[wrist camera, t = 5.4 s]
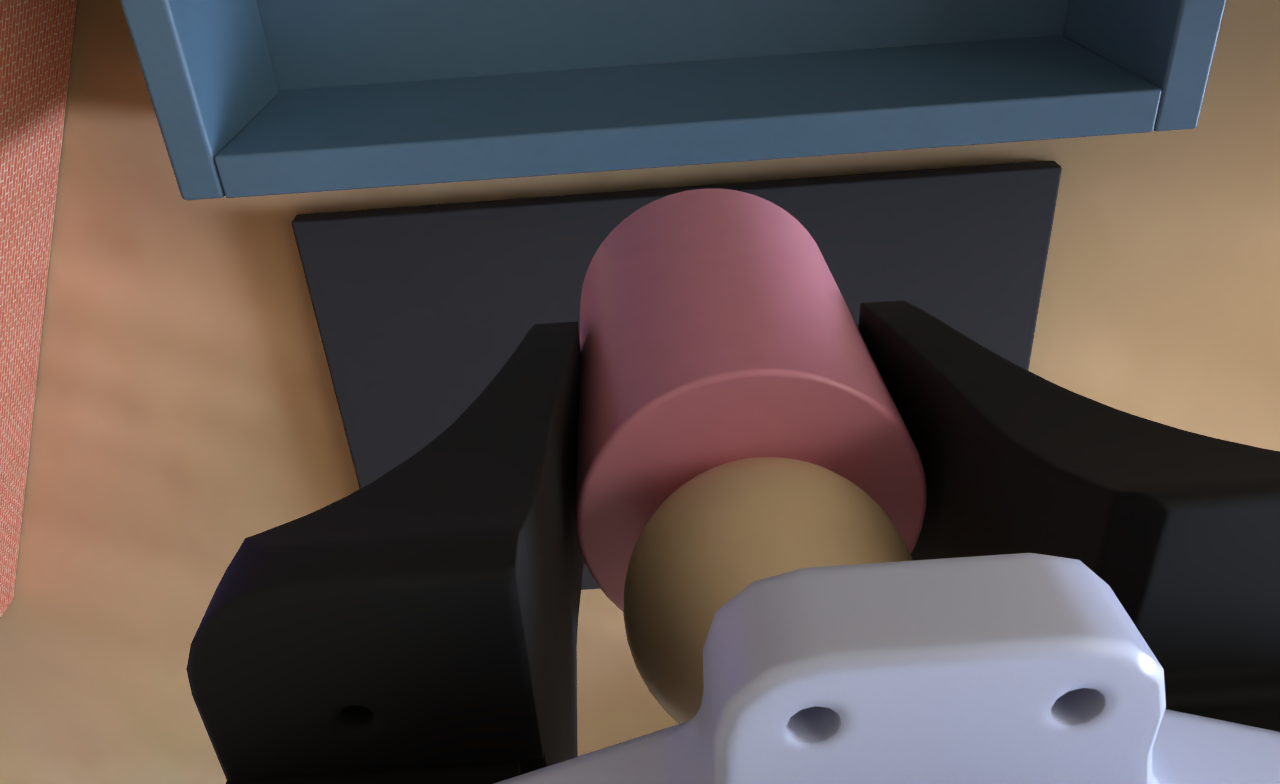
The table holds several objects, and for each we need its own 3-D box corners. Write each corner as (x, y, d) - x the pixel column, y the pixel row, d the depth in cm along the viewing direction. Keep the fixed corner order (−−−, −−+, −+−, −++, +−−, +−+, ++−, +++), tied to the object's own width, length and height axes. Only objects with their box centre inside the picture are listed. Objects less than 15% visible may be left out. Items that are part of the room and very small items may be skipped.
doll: (836, 178, 15) (1055, 532, 8) (823, 404, 17) (988, 843, 10) (569, 194, 15) (550, 565, 8) (590, 418, 17) (589, 871, 10)
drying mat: (1054, 159, 24) (1062, 166, 23) (991, 548, 30) (997, 559, 30) (295, 213, 24) (290, 222, 23) (391, 593, 30) (389, 604, 29)
